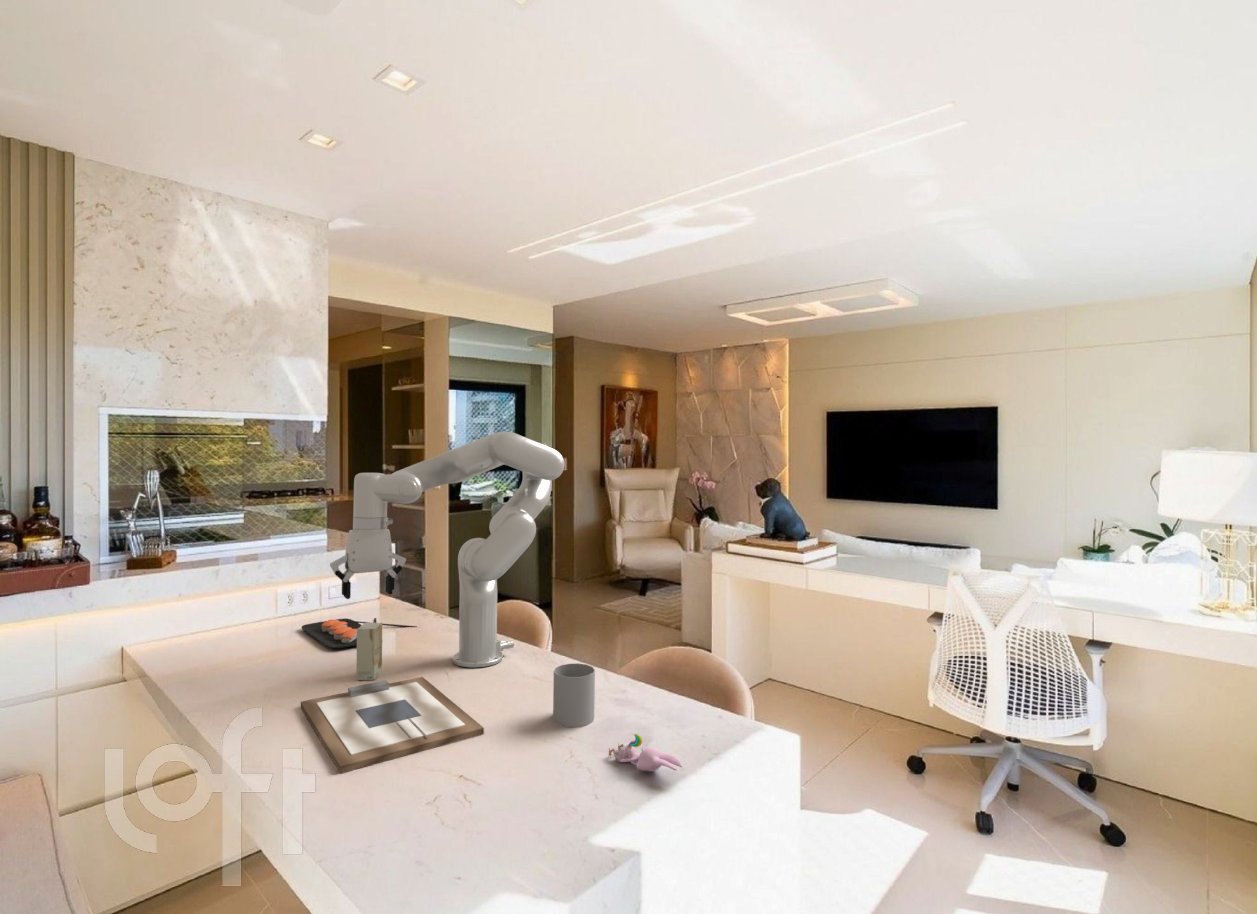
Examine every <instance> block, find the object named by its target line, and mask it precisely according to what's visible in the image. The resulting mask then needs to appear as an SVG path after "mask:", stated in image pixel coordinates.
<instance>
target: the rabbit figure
mask: <svg viewBox="0 0 1257 914" xmlns="http://www.w3.org/2000/svg"><path fill="white" fill-rule="evenodd" d="M633 735H634V737H635V739H633V740H630V742H629V743H628V744H627V745H625V744H624V743H622V744H620V743H619V742H618V743H617V744H618V745H617V749H615V748H612V749H611V748H610V747H608V757H609V759H611V757H612V756H614V759H615V760H616V762H618V763H630V762H631V763H633V764H636V766H637V769H638V770H639V771H644V772H645V773H646V772H655V771H657V770H658V769H660V768H661V766H662V767H667V768H669V769H671V770H673V771H678V769H677V768H676V767H675V766H677V767H679V768H682V767H683V764H682V762H681V759H679V758H678V757H677V756H676V755H674V754H672V753H663V752H661V750H659V749H657V748H655V747H646V748H644V747H643V748H641V752H639V753H638V752H636V750H635V748H639V747H641V745H642V744H643V739H642V736H641V735H639V734H638V733H637V734H636V733H635V734H633ZM612 752H613V753H612Z"/></svg>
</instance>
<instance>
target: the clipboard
mask: <svg viewBox="0 0 1257 914" xmlns="http://www.w3.org/2000/svg"><path fill="white" fill-rule="evenodd" d="M300 709H301V710H302V713H303V714H304V715H305V717H306V719H307V721H308V722H309V724H310V725H311V727H312V729H313V731H314V732H315V734H316V736H317V737H318V739H319V740H320V742H321V744H322V745H323V747H324V748H325V750H326V753H328V755H329V758H330V759H331V760H332V762H333V764H334V765H335V767H336V768H337V770H338V772H339V774H343V773H347V772H349V771H354V770H358V769H362V768H365V767H368V766H373V765H375V764H379V763H383V762H387V761H390V760H394V759H398V758H402V757H405V756H408V755H412V754H416V753H419V752H423V751H427V750H431V749H434V748H438V747H441V746H445V745H449V744H452V743H456V742H459V741H460V742H461V741H464V740H468V739H470V738H474V737H479V736H481V735H484V734H485V727H483V725H482V724H480V723H479V722H478V721H476V720H475V719H474V718H473V717H471V716H470V715H469V714H468V713H467V712H465V711H464V710H463V708H461V707H459V706H458V705H457V704H456V703H455V702H453V701H452V700H451V699H450V698H449V697H448V696H447V695H445V694H444V693H443V692H442V691H440V690H439V689H438V688H437V687H435V686H434V685H433V684H432V683H431V682H429V681H428V679H426V678H425V677H423V676H420V677H419V676H418V677H416V678H409V679H405V680H399V681H395V682H388V681H387V680H386V679H384V680H380V681H375V682H369V683H365V684H360V685H354V686H350V687H347V692H341V693H337V694H332V695H327V696H322V697H318V698H312V699H307V700H303V701H300Z"/></svg>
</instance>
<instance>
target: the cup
mask: <svg viewBox="0 0 1257 914" xmlns="http://www.w3.org/2000/svg"><path fill="white" fill-rule="evenodd" d="M595 684H596V669H595V668H594V667H593V666H592V665H588V664H585V663H566V664H561V665H558V666H557V667H556V666H555V668H554V670H553V686H552V687H553V698H552V699H553V702H552V703H553V704H552V705H553V707H552V709H553V710H552V712H553V713H552V714H553V715H552V720H553V722H554V723H555V724H556V725H558V726H561V727H565V728H581V727H585V726H588V725H590V724H592V723H594V719H595V709H596V706H595V705H596V703H595V699H596V696H595V695H596V694H595V692H596V689H595V688H596V685H595Z"/></svg>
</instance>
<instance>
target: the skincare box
mask: <svg viewBox="0 0 1257 914" xmlns="http://www.w3.org/2000/svg"><path fill="white" fill-rule="evenodd" d="M382 624H383V622H376V623H374V622H370V623H362V624H361V625H362V626H360V627H359V628H358V629H357V646H356V672H355V673H356V674H355V675H356V676H355V677H356V681H375V680H376V678H378V676H380V674H381V673H382V672H383V664H382V663H383V625H382Z"/></svg>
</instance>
